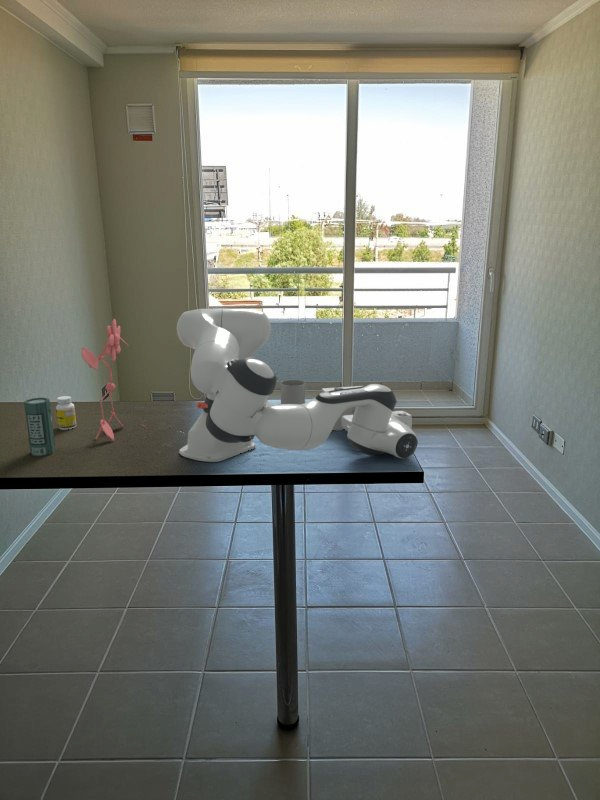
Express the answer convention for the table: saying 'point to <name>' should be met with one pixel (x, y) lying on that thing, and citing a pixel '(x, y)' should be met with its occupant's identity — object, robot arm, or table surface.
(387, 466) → the table surface
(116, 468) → the table surface
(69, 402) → the supplement bottle
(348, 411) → the camera housing
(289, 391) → the cup
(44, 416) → the can
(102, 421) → the figurine
